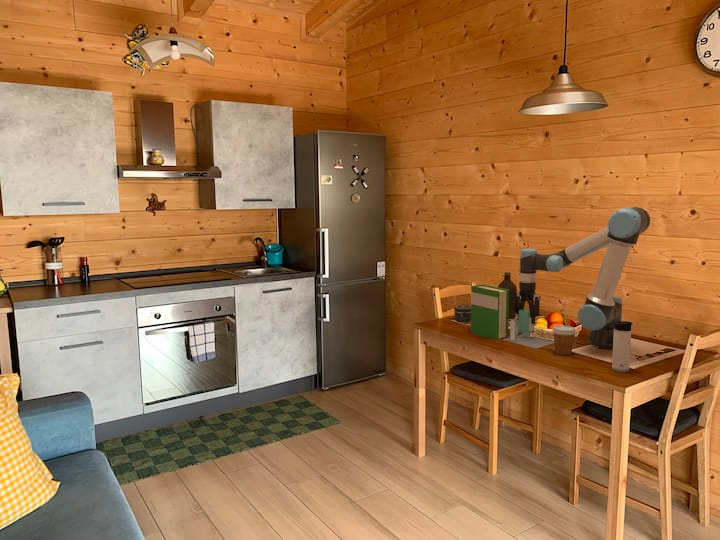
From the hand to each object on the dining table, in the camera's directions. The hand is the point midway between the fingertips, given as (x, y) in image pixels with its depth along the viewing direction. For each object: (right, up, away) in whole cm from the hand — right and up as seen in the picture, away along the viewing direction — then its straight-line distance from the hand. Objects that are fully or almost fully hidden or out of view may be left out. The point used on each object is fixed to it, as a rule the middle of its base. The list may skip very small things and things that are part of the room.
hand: (526, 329), depth 269 cm
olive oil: (+2, +2, +44) cm, 44 cm away
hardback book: (-16, -4, +7) cm, 18 cm away
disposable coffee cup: (+9, -9, -25) cm, 28 cm away
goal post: (0, -5, +1) cm, 5 cm away
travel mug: (+24, -12, -46) cm, 53 cm away
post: (-7, -6, -5) cm, 10 cm away
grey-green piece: (0, -1, 0) cm, 1 cm away
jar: (-23, +1, +38) cm, 44 cm away
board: (0, -6, -6) cm, 8 cm away
